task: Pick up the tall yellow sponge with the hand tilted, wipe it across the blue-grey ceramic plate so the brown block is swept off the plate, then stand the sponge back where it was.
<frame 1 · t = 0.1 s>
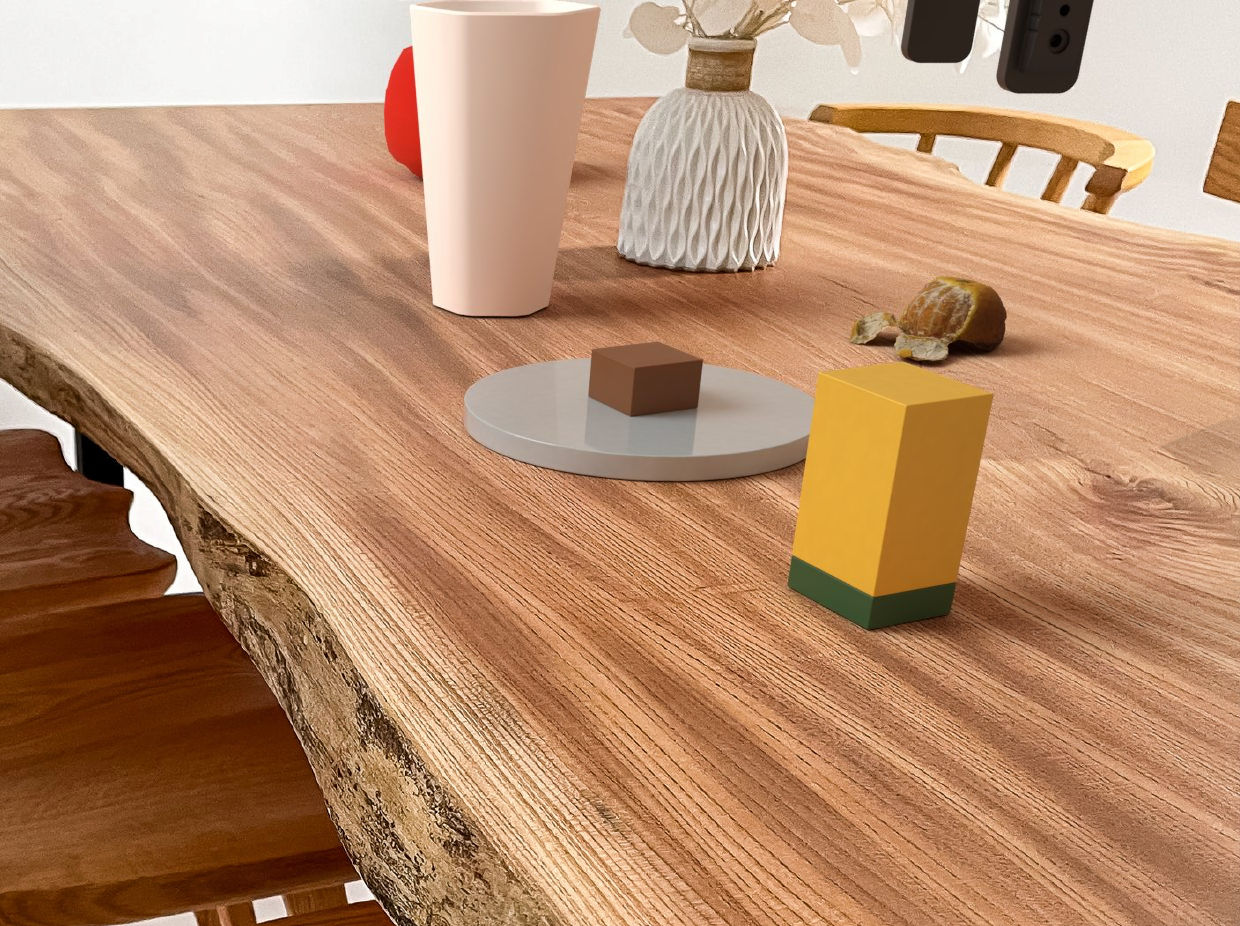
hand: (980, 76, 56), 19 cm above the table, tool pointing down, fingers open, 8 cm apart
fruit: (917, 348, 104), on the table
plate: (640, 426, 90), on the table
tomato: (460, 179, 155), on the table
cup: (490, 308, 113), on the table
brown block: (642, 402, 89), point 1 cm above the table, touching plate
sponge: (867, 600, 69), on the table
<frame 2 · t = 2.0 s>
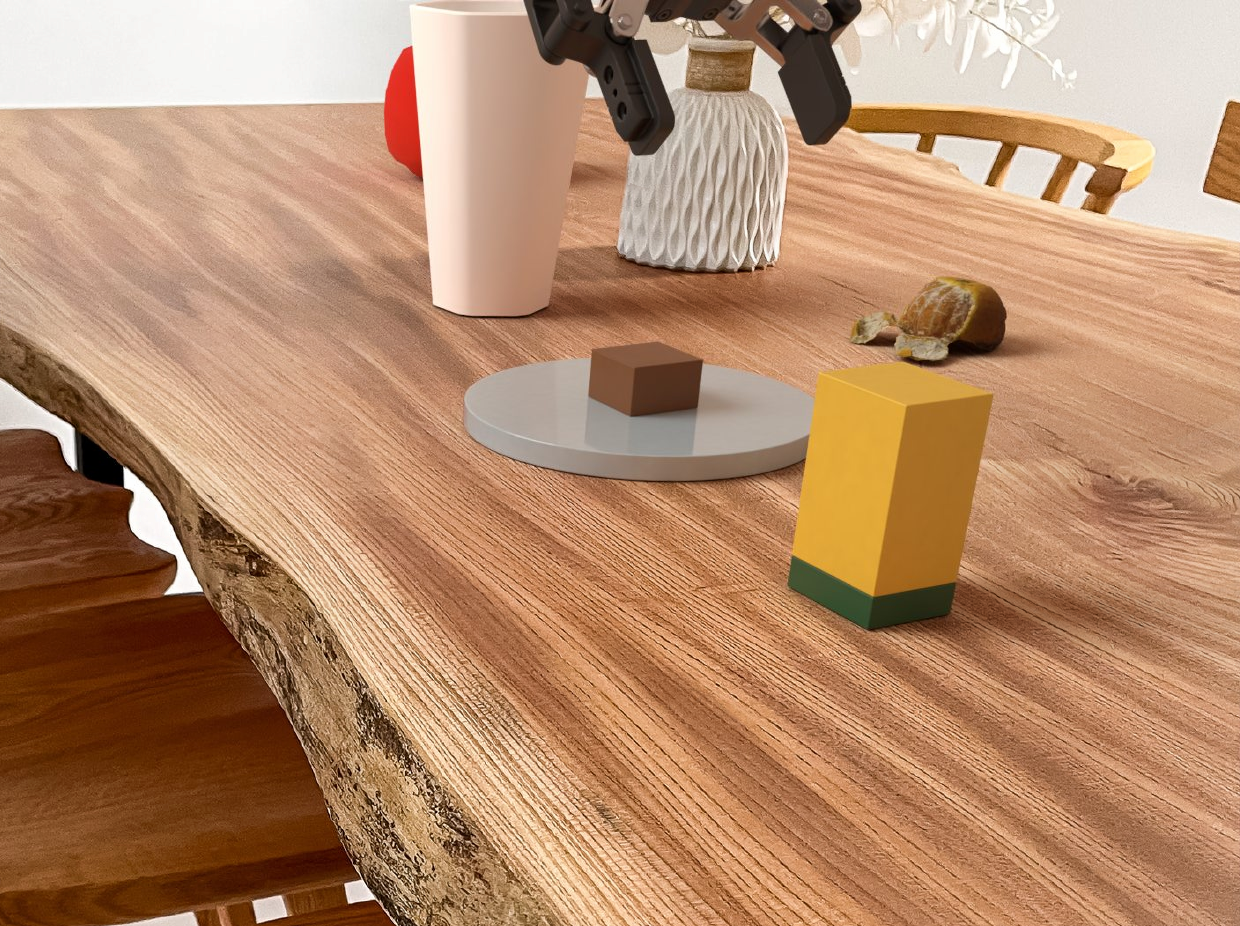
hand: (745, 137, 70), 15 cm above the table, tool tilted 45°, fingers open, 8 cm apart
nothing on the table moved.
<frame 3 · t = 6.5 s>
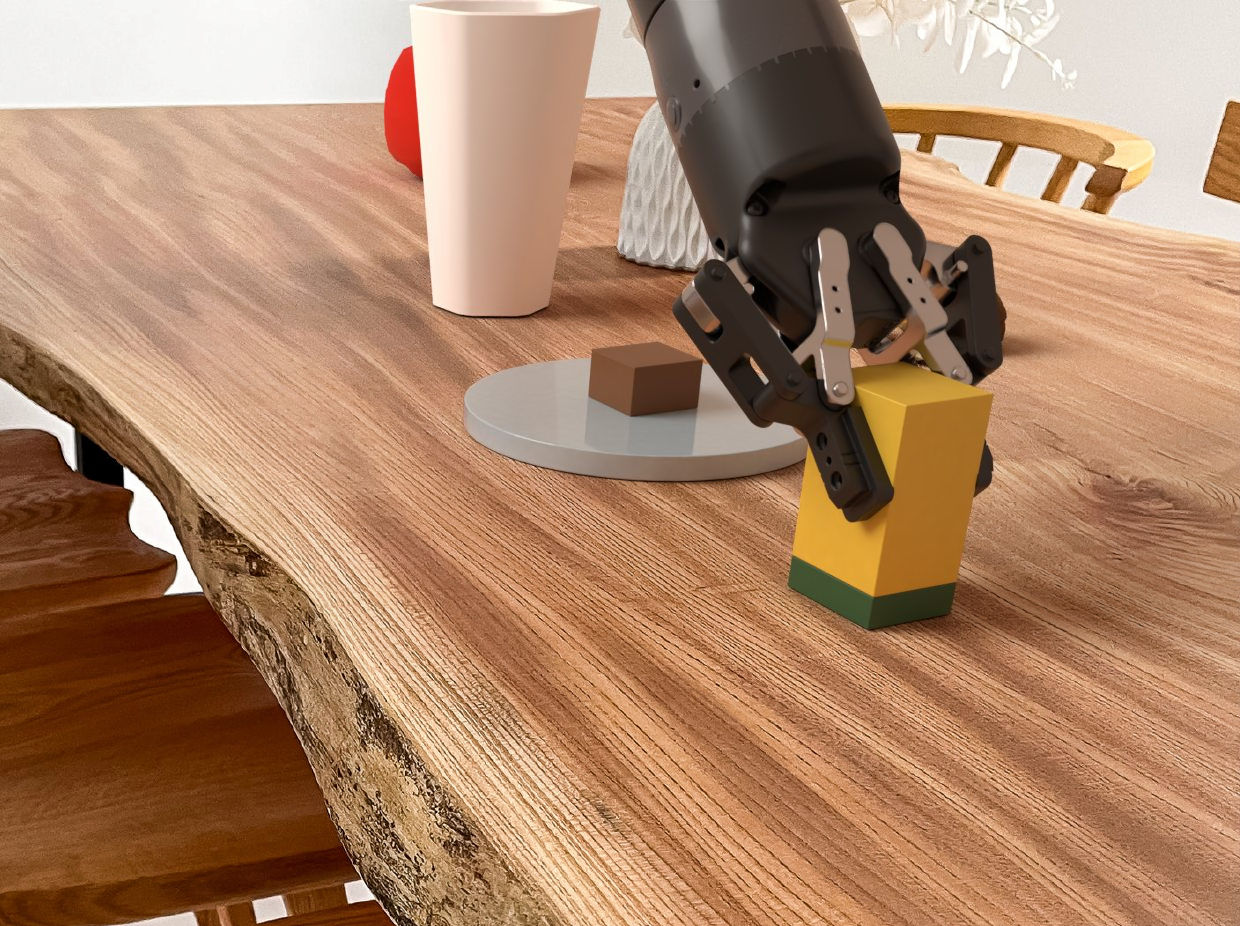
hand: (921, 501, 65), 5 cm above the table, tool tilted 45°, fingers closed on sponge, 4 cm apart
sponge: (867, 600, 69), on the table, touching gripper
everything else where it was.
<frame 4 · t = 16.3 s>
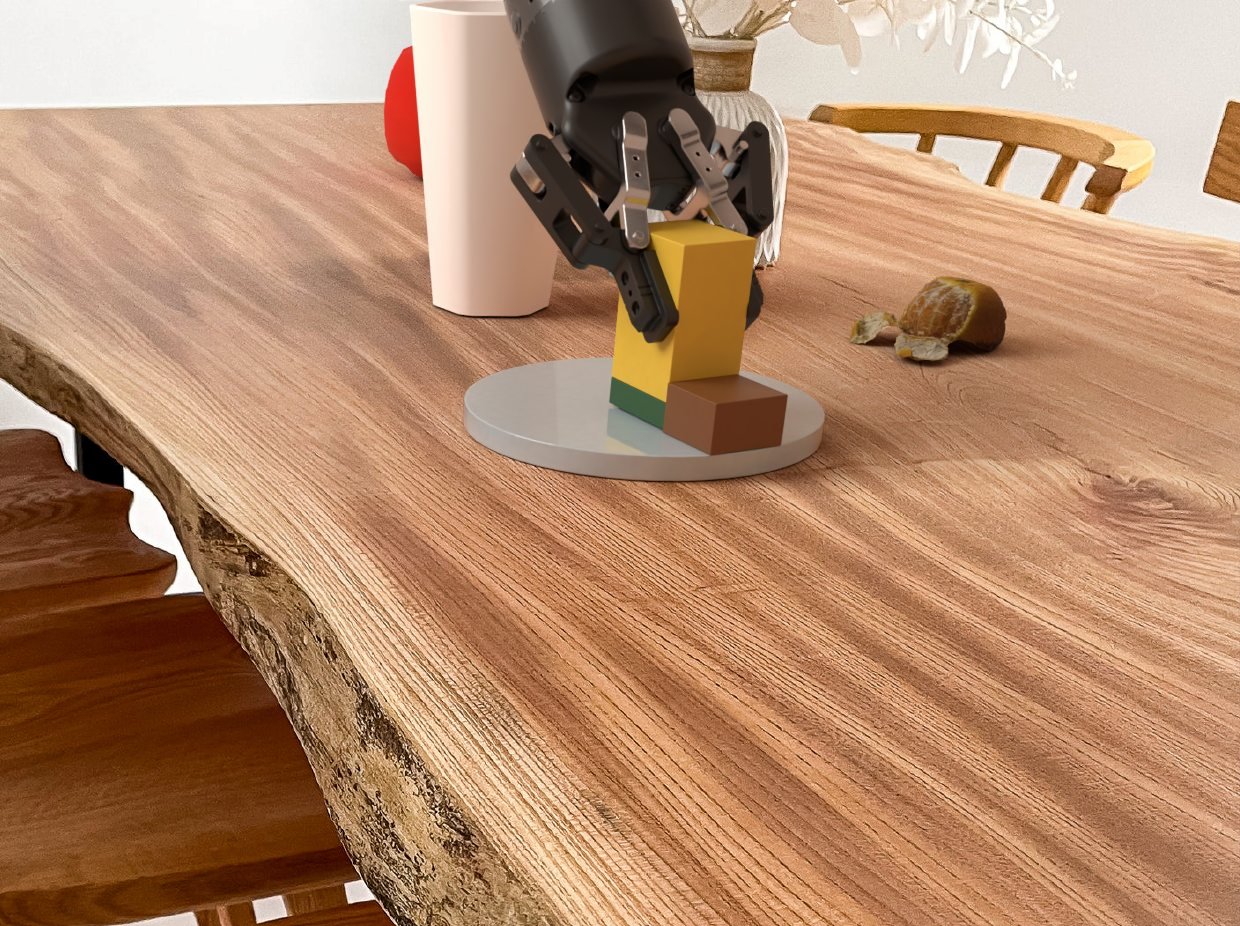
hand: (705, 327, 83), 6 cm above the table, tool tilted 45°, fingers closed on sponge, 4 cm apart
brown block: (721, 439, 84), point 1 cm above the table
sponge: (670, 411, 87), point 1 cm above the table, touching gripper
everything else where it was.
when the fingers open (5 cm above the table, at t = 25.8 s): sponge stays where it is, on the table.
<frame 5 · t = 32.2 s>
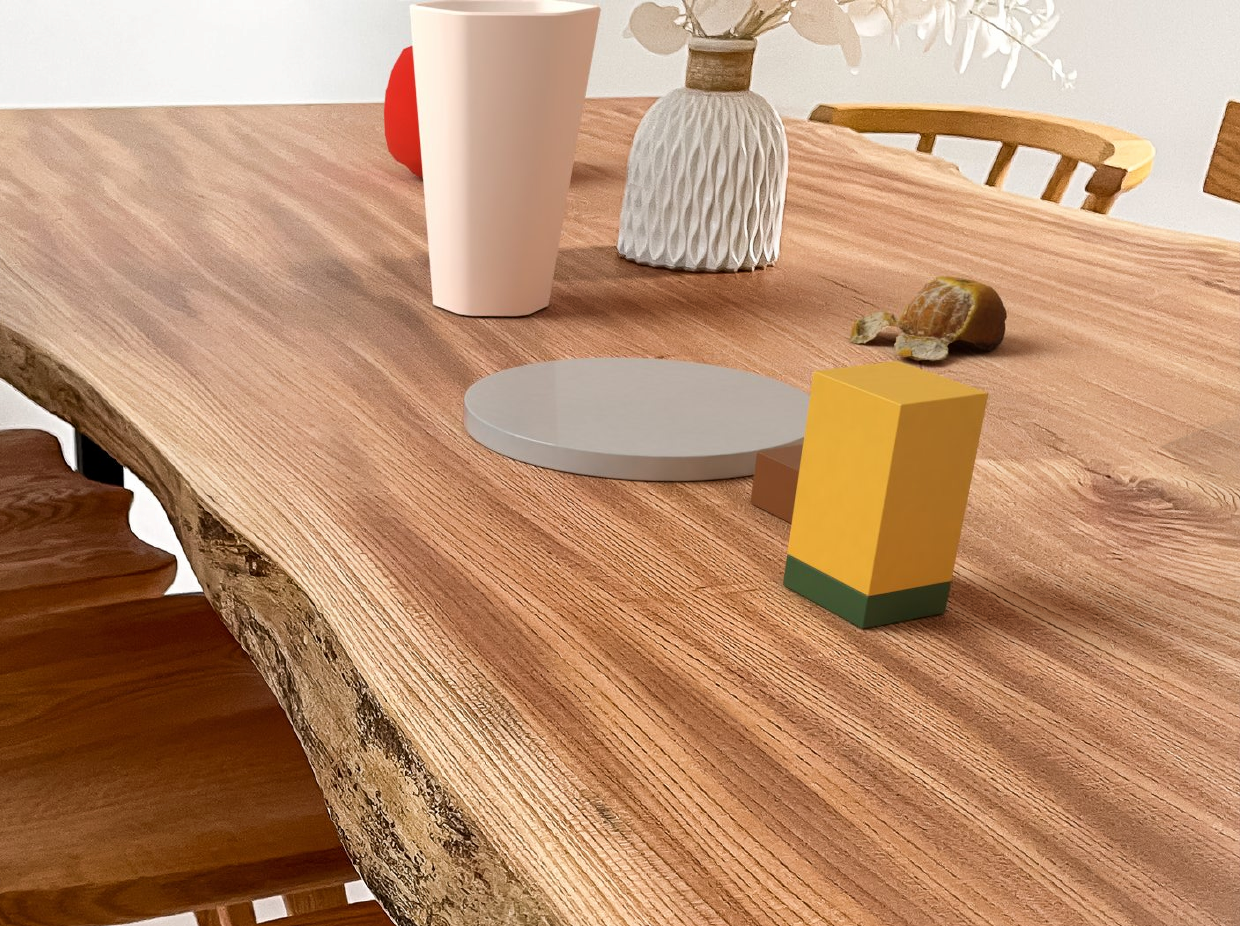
brown block: (813, 511, 78), on the table
sponge: (862, 599, 69), on the table
everything else where it was.
at the end: brown block touching table; brown block inside the target area (3.5 cm from its centre), on the table; sponge tilted 0° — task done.
